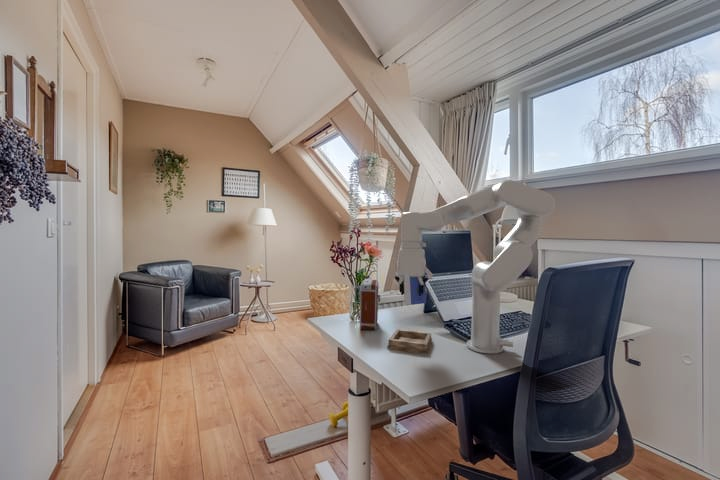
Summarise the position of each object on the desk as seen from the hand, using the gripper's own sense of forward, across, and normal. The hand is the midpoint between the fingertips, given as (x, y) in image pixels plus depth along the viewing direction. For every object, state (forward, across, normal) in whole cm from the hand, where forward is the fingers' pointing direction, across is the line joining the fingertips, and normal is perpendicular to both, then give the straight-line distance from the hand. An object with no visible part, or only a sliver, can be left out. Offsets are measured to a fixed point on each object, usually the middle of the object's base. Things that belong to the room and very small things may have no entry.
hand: (411, 294), depth 123 cm
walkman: (+4, -1, 0) cm, 4 cm away
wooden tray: (+19, 0, 0) cm, 19 cm away
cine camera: (+19, +22, -20) cm, 35 cm away
